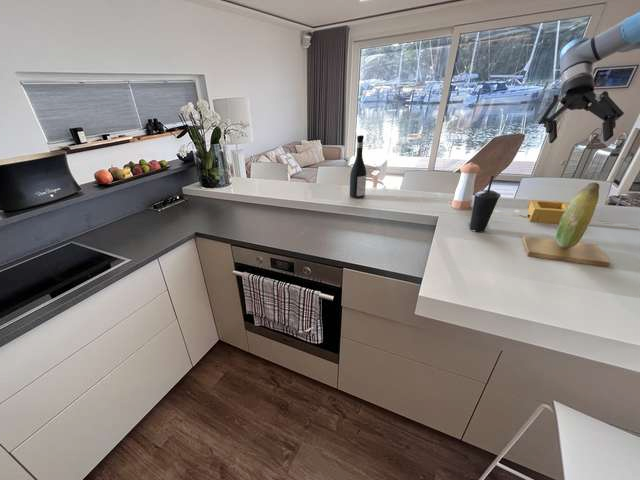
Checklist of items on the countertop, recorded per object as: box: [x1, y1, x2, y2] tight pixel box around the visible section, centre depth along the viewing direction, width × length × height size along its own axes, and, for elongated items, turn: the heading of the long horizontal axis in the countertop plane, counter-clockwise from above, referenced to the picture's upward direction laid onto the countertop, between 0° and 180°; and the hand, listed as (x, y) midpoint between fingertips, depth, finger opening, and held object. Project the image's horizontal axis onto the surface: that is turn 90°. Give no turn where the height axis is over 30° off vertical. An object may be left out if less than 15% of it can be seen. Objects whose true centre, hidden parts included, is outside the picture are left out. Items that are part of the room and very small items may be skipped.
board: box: [522, 236, 611, 268], centre depth 89 cm, size 18×12×2 cm, turn 60°
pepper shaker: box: [451, 161, 481, 210], centre depth 123 cm, size 7×7×19 cm
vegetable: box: [555, 182, 600, 248], centre depth 83 cm, size 6×6×20 cm
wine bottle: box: [349, 135, 367, 199], centre depth 145 cm, size 8×8×30 cm
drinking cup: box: [469, 175, 501, 232], centre depth 102 cm, size 8×8×20 cm
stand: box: [526, 199, 570, 225], centre depth 110 cm, size 12×12×5 cm
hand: (580, 139), depth 90 cm, fingers open, 13 cm apart
